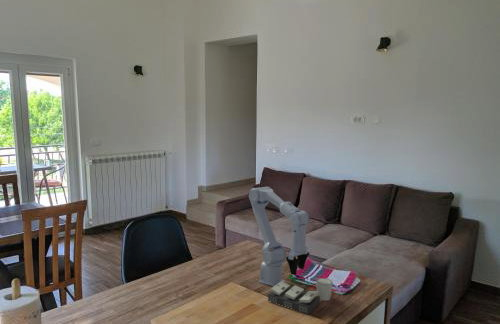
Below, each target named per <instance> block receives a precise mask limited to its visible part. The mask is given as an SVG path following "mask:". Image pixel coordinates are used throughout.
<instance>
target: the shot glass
mask: <svg viewBox="0 0 500 324" xmlns="http://www.w3.org/2000/svg"><path fill="white" fill-rule="evenodd" d="M315 283H316V284H315V285H316V289H315V291H318V296H320V301H324V302H325V301H329V300H331V296H332V290H333V283H334V281H333V280H331V279H329V278H326V277H325V278H321V277H320V278H317V279H316V280H315Z"/></svg>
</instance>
